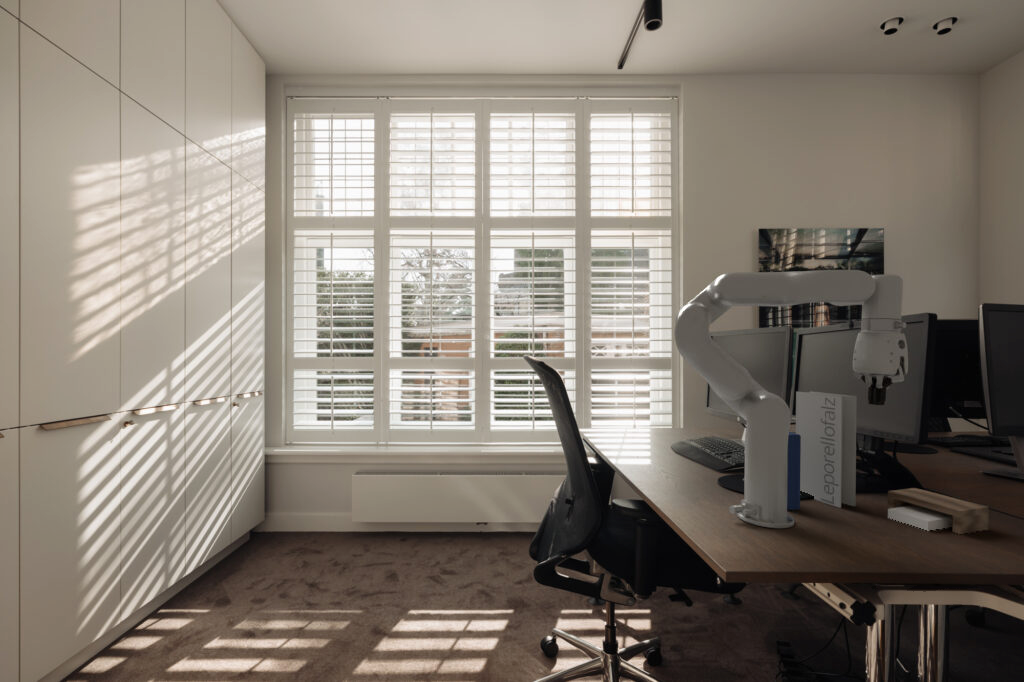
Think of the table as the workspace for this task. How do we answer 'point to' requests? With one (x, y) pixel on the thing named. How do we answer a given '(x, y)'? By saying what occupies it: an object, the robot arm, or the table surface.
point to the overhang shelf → (944, 508)
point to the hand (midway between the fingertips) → (876, 404)
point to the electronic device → (793, 471)
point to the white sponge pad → (921, 517)
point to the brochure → (827, 446)
